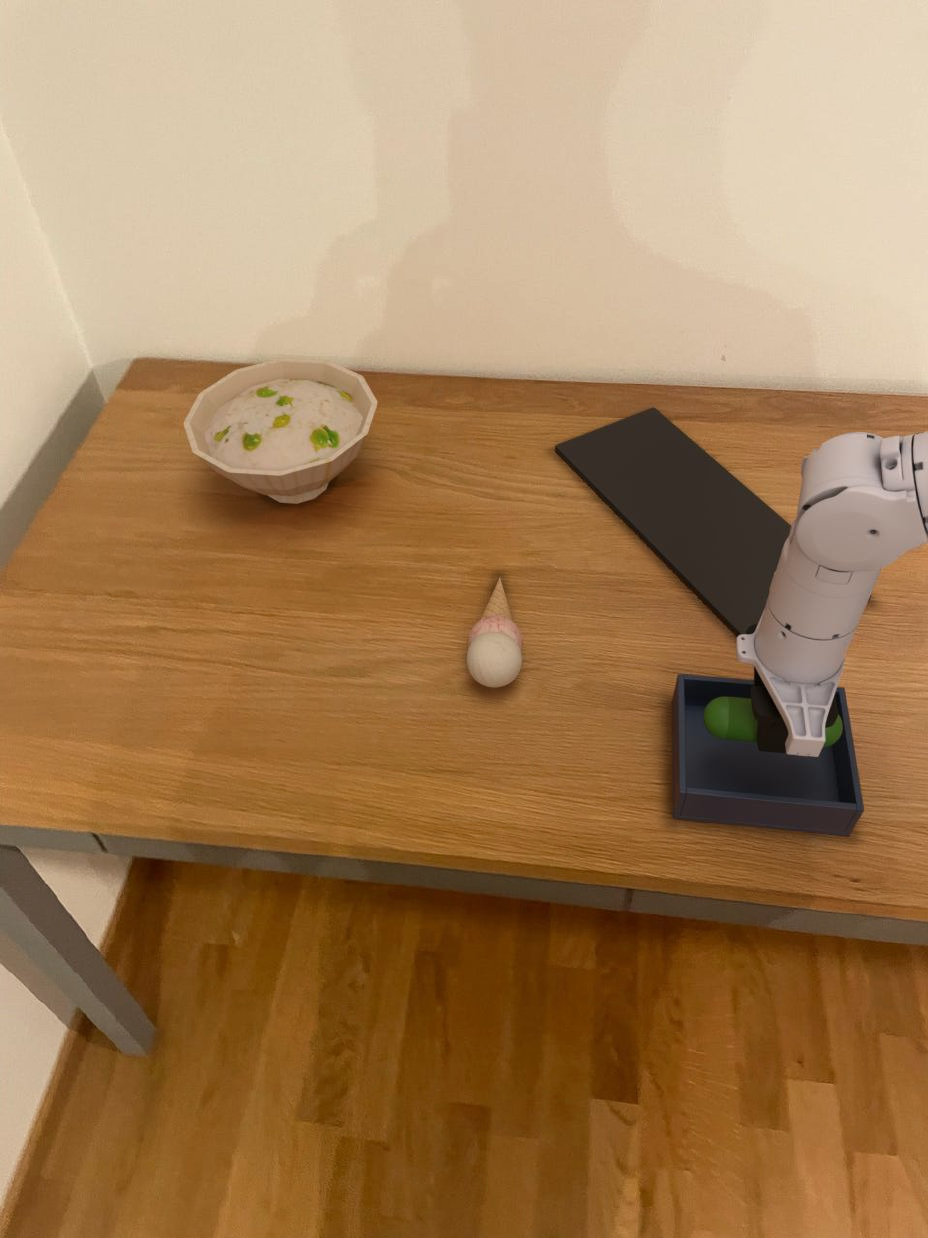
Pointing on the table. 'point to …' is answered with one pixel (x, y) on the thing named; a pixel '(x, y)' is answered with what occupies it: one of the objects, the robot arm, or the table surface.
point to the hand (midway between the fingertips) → (770, 726)
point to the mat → (685, 511)
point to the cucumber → (746, 721)
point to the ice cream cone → (495, 644)
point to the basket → (758, 770)
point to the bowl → (282, 426)
